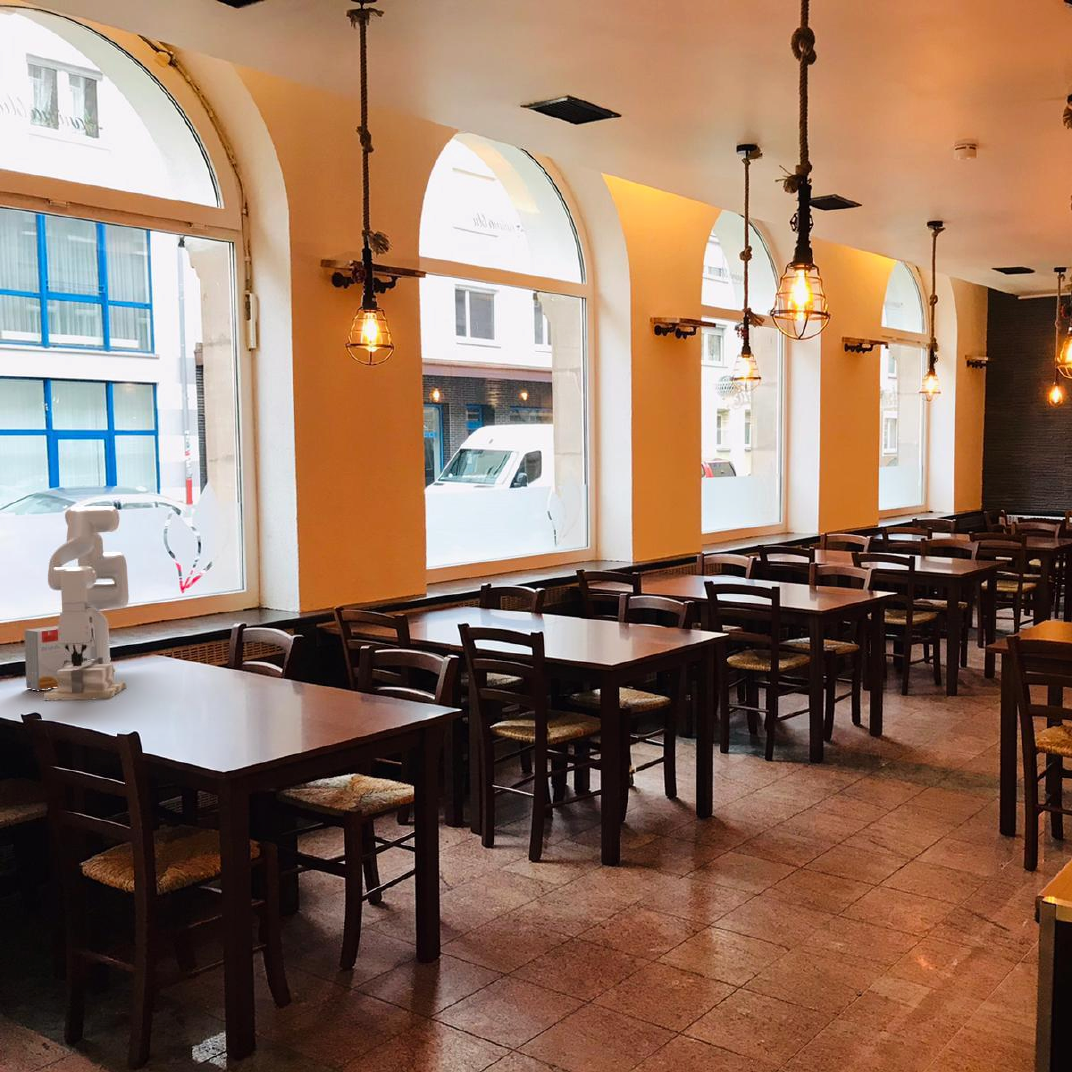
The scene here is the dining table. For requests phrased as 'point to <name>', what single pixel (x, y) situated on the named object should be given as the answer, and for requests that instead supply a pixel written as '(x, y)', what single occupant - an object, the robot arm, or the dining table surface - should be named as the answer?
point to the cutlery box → (86, 682)
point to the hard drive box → (44, 657)
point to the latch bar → (85, 663)
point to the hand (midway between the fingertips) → (77, 665)
